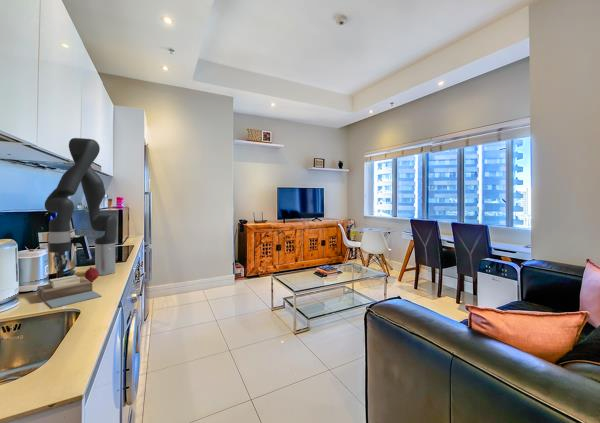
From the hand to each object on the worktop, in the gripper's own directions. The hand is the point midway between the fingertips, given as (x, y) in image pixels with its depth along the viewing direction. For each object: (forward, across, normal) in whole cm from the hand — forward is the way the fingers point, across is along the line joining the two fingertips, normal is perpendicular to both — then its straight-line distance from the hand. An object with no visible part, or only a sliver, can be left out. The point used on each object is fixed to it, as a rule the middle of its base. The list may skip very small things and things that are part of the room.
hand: (60, 278), depth 122 cm
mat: (+6, -18, 0) cm, 19 cm away
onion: (+6, +4, -13) cm, 15 cm away
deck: (+6, -7, 0) cm, 9 cm away
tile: (+2, -6, 0) cm, 6 cm away
